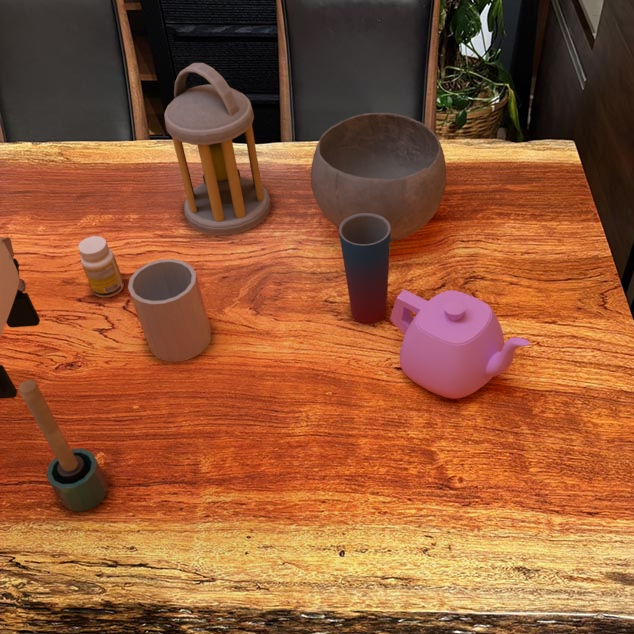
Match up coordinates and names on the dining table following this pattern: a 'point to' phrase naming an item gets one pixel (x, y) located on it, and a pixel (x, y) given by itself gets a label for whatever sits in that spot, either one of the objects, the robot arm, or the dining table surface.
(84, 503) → the holder
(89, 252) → the supplement bottle
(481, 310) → the teapot
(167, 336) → the grey pencil pot
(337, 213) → the bowl
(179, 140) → the lantern
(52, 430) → the wooden handled tool
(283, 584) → the dining table surface
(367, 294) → the cup
